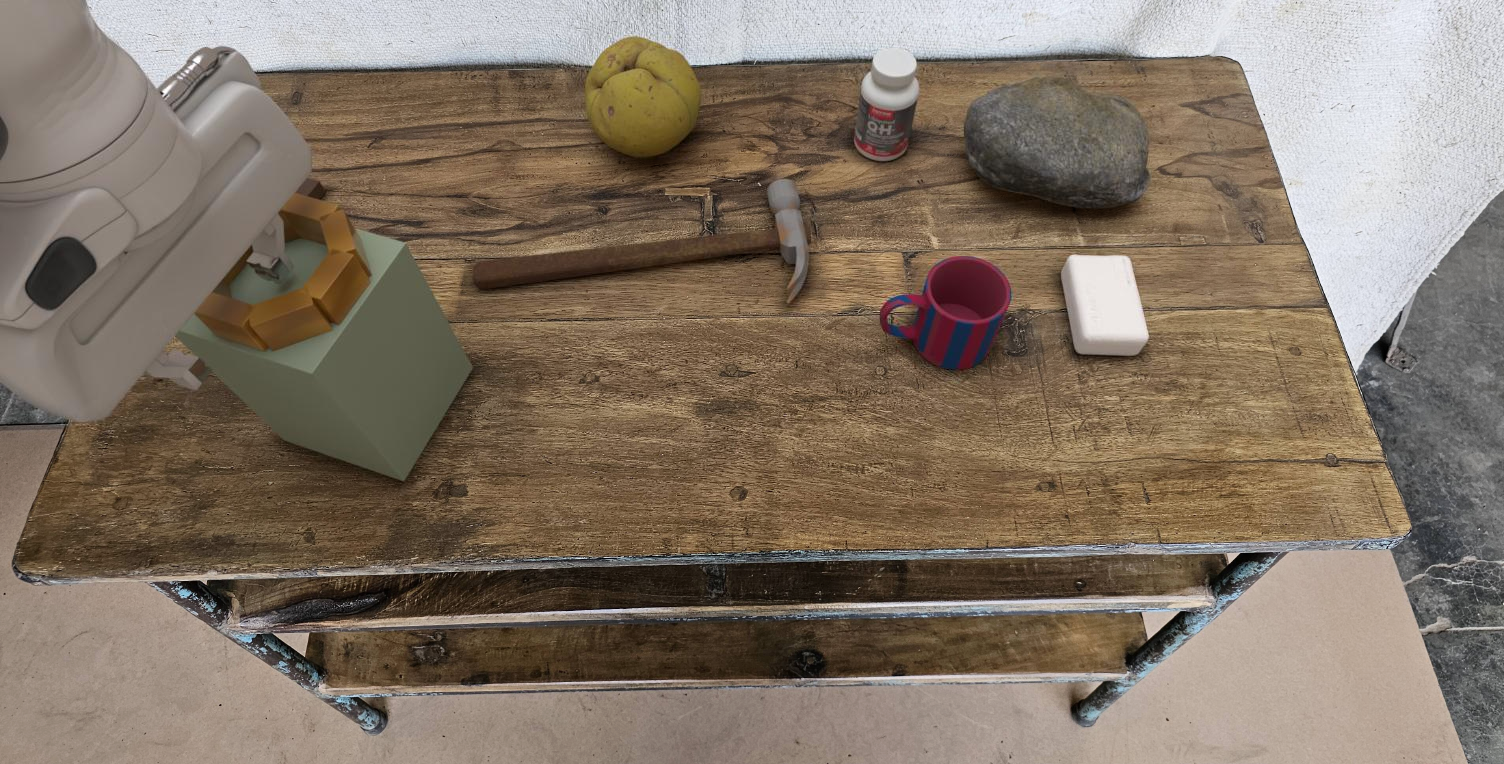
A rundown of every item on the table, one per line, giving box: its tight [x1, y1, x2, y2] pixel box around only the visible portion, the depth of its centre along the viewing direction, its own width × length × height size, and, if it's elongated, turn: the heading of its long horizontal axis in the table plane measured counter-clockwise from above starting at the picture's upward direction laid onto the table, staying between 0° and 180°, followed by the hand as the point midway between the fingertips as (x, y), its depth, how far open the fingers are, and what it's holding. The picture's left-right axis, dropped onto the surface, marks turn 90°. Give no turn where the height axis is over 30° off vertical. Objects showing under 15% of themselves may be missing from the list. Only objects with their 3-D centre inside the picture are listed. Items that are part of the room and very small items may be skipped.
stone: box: [963, 75, 1151, 209], centre depth 78 cm, size 17×13×10 cm
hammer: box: [472, 178, 812, 308], centre depth 75 cm, size 12×3×30 cm
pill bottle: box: [853, 47, 920, 162], centre depth 80 cm, size 5×5×10 cm
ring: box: [194, 193, 372, 351], centre depth 54 cm, size 10×10×3 cm
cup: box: [879, 255, 1012, 371], centre depth 70 cm, size 7×10×7 cm
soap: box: [1060, 254, 1150, 357], centre depth 72 cm, size 9×6×3 cm, turn 178°
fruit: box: [584, 36, 703, 158], centre depth 80 cm, size 11×12×10 cm
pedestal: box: [174, 227, 474, 482], centre depth 62 cm, size 11×11×16 cm
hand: (238, 324), depth 53 cm, fingers open, 7 cm apart
